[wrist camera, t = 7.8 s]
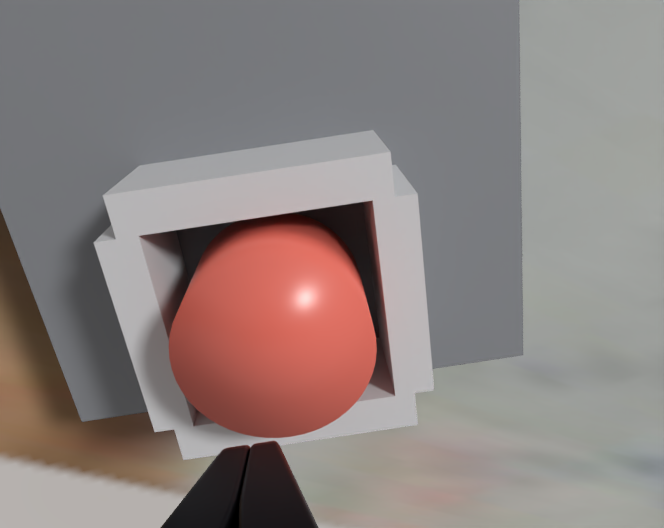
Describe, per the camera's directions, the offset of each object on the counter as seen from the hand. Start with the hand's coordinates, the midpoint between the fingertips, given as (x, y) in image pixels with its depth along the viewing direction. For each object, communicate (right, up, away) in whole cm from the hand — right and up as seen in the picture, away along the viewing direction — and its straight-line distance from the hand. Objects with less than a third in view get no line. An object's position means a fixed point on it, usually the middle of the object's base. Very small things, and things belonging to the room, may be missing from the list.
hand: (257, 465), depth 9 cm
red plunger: (0, +2, +6) cm, 7 cm away
